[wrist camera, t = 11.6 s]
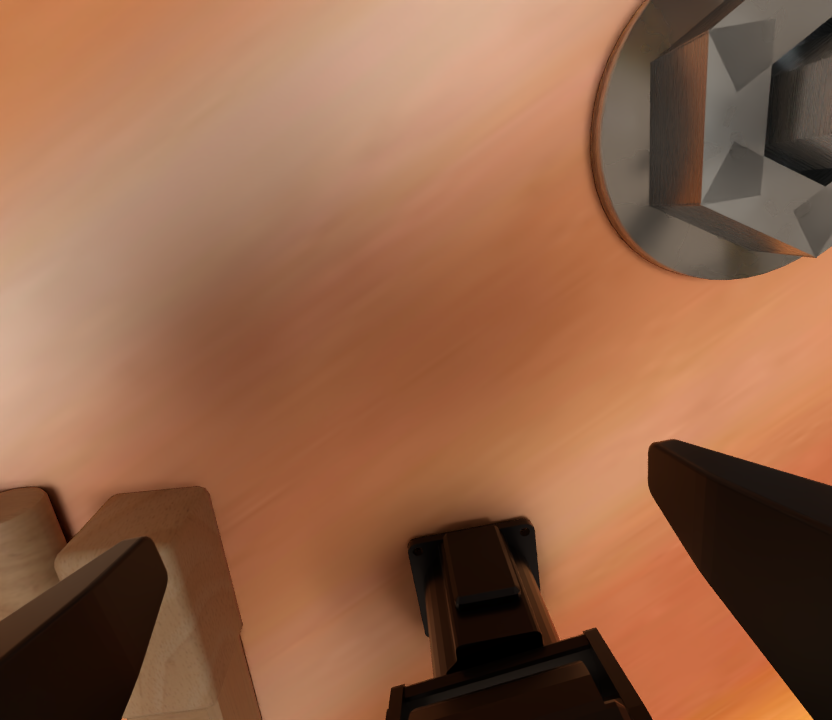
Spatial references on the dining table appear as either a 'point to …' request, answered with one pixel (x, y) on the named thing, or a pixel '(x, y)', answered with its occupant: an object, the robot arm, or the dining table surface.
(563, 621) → the dining table surface
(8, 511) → the wooden block set
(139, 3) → the dining table surface
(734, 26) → the socket
